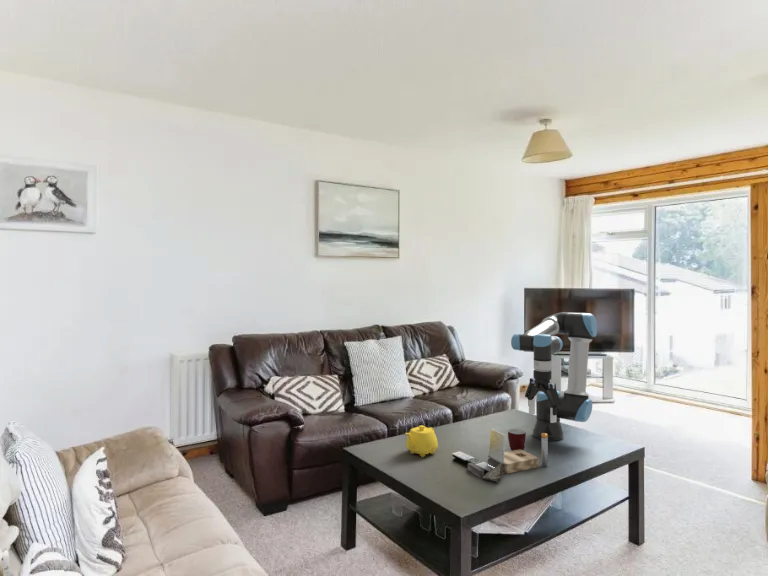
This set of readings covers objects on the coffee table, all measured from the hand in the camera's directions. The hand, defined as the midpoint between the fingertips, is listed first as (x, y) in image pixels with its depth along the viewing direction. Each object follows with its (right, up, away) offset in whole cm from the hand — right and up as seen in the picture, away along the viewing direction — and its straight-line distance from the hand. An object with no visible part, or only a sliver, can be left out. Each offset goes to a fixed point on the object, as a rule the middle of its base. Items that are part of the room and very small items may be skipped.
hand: (542, 418), depth 218 cm
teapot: (-52, -21, +16) cm, 59 cm away
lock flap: (-21, -17, -3) cm, 27 cm away
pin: (+1, -21, 0) cm, 21 cm away
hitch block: (-18, -21, -2) cm, 28 cm away
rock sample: (-25, -22, -14) cm, 36 cm away
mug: (-6, -21, +15) cm, 26 cm away
